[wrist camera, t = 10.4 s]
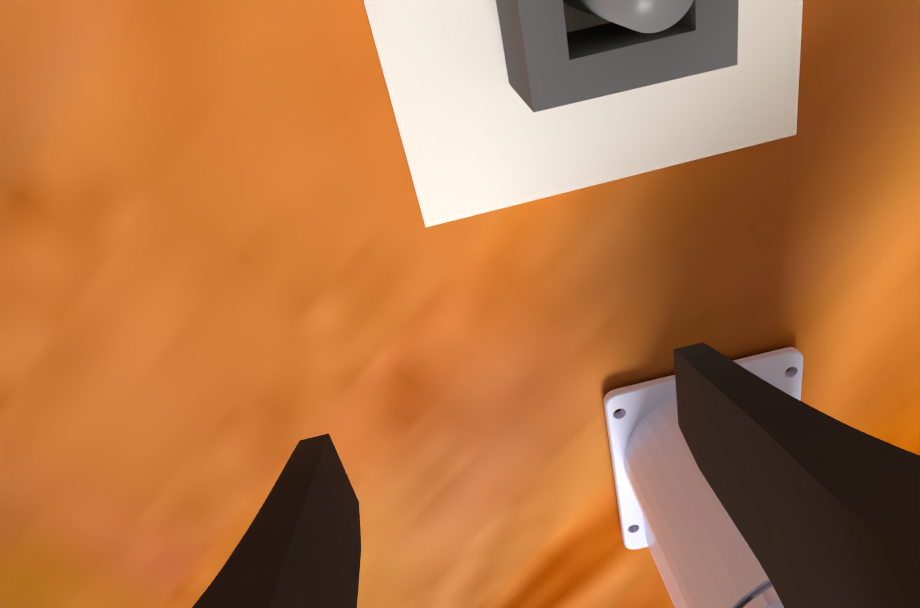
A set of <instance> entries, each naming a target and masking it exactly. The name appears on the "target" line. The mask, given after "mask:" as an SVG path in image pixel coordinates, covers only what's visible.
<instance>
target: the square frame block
mask: <svg viewBox="0 0 920 608" xmlns="http://www.w3.org/2000/svg"><path fill="white" fill-rule="evenodd" d="M738 2H739V0H694V1H693V3H692V5H691V6H690V8H689V10H688V11H687V12H686V14H685V15H684V16H683V17H682V18H681V19H680V20H679V21H678V22H677V23H675V24H674V25H672V26H671V27H669V28H667V29H665V30H663V31H660V32H655V33H641V32H638V31H635V30H632V29H629V28H627V27H624V26H621V25H619V24H616V23H613V22H610V23H606V24H601V25H597V26H593V27H589V28H584V29H580V30H576V31H572V32H567V33H566V24H565V15H564V6H563V0H496V5H497V11H498V17H499V24H500V30H501V36H502V42H503V49H504V55H505V61H506V68H507V74H508V80H509V84H510V85H511V87H512V88H513V89H514V90H515V91H516V93H517V94H518V95H519V96H520V97H521V98H522V100H523V101H524V102H525V103H526V104H527V105H528V107H529V108H530V109H531V110H532V111H533V112H538V111H542V110H546V109H551V108H555V107H559V106H564V105H568V104H572V103H576V102H581V101H585V100H589V99H593V98H598V97H602V96H606V95H611V94H615V93H619V92H623V91H628V90H632V89H636V88H641V87H645V86H649V85H653V84H658V83H662V82H666V81H670V80H675V79H679V78H683V77H688V76H692V75H696V74H700V73H705V72H709V71H713V70H717V69H722V68H726V67H730V66H735V65H737V57H738Z"/></svg>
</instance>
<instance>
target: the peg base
mask: <svg viewBox="0 0 920 608" xmlns="http://www.w3.org/2000/svg"><path fill="white" fill-rule="evenodd" d="M693 1H694V0H563V6H564V15H565V24H566V33H567V32H572V31H576V30H580V29H584V28H589V27H593V26H597V25H601V24H606V23H610V22H613V23H616V24H619V25H621V26H624V27H627V28H629V29H632V30H635V31H638V32H641V33H655V32H660V31H663V30H665V29H667V28H669V27H671V26H672V25H674V24H675V23H677V22H678V21H679V20H680V19H681V18H682V17H683V16H684V15H685V14H686V12H687V11H688V10H689V8H690V6H691V5H692V3H693ZM364 4H365V8H366V11H367V15H368V18H369V22H370V26H371V29H372V33H373V37H374V40H375V44H376V48H377V51H378V55H379V59H380V62H381V66H382V70H383V73H384V77H385V81H386V84H387V88H388V91H389V95H390V99H391V102H392V106H393V110H394V113H395V117H396V121H397V124H398V128H399V132H400V135H401V139H402V143H403V146H404V150H405V154H406V157H407V161H408V164H409V168H410V172H411V175H412V179H413V183H414V186H415V190H416V194H417V197H418V201H419V205H420V208H421V212H422V216H423V219H424V223H425V227H429V226H433V225H437V224H441V223H445V222H449V221H453V220H457V219H461V218H465V217H469V216H473V215H477V214H481V213H485V212H489V211H493V210H497V209H501V208H505V207H509V206H513V205H517V204H521V203H525V202H529V201H533V200H537V199H541V198H545V197H549V196H553V195H557V194H561V193H565V192H569V191H573V190H577V189H581V188H585V187H589V186H593V185H597V184H601V183H605V182H609V181H613V180H617V179H621V178H625V177H629V176H633V175H637V174H641V173H645V172H649V171H653V170H657V169H661V168H665V167H669V166H673V165H677V164H681V163H685V162H689V161H693V160H697V159H701V158H705V157H709V156H713V155H717V154H721V153H725V152H729V151H733V150H737V149H741V148H745V147H749V146H753V145H757V144H761V143H765V142H769V141H773V140H777V139H781V138H785V137H789V136H793V135H796V132H797V111H798V91H799V71H800V50H801V30H802V9H803V0H739V2H738V57H737V65H735V66H730V67H726V68H722V69H717V70H713V71H709V72H705V73H700V74H696V75H692V76H688V77H683V78H679V79H675V80H670V81H666V82H662V83H658V84H653V85H649V86H645V87H641V88H636V89H632V90H628V91H623V92H619V93H615V94H611V95H606V96H602V97H598V98H593V99H589V100H585V101H581V102H576V103H572V104H568V105H564V106H559V107H555V108H551V109H546V110H542V111H538V112H533V111H532V110H531V109H530V108H529V107H528V105H527V104H526V103H525V102H524V101H523V100H522V98H521V97H520V96H519V95H518V94H517V93H516V91H515V90H514V89H513V88H512V87H511V85H510V84H509V80H508V74H507V68H506V61H505V55H504V49H503V42H502V36H501V30H500V24H499V17H498V11H497V5H496V0H364Z"/></svg>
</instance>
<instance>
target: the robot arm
mask: <svg viewBox="0 0 920 608" xmlns="http://www.w3.org/2000/svg"><path fill="white" fill-rule="evenodd" d="M803 359H804V358H803V355H802V354H801V353H800V352H799V351H798V350H797V349H796V348H794V347H787V348H783V349H779V350H774V351H770V352H766V353H762V354H758V355H754V356H750V357H746V358H741V359H737V360H733V361H732V360H731V359H729V358H728V357H726V356H724V355H723V354H721V353H720V352H718V351H716V350H715V349H713V348H712V347H710V346H708V345H707V344H705V343H699V344H695V345H690V346H686V347H682V348H678V349H674V365H675V375H671V376H667V377H663V378H659V379H655V380H651V381H647V382H642V383H638V384H634V385H630V386H626V387H622V388H618V389H614V390H611V391H609V392H608V393H607V394H606V395H605V397H604V409H605V416H606V424H607V431H608V438H609V445H610V453H611V460H612V467H613V474H614V481H615V489H616V496H617V503H618V510H619V518H620V525H621V532H622V539H623V542H624V544H625V546H626V547H627V548H628V549H632V550H633V549H639V548H643V547H647V546H648V547H649V549H650V552H651V554H652V556H653V559H654V561H655V563H656V566H657V568H658V570H659V573H660V575H661V577H662V580H663V582H664V584H665V586H666V589H667V591H668V593H669V596H670V598H671V600H672V603H673V605H674V607H675V608H920V456H919V455H916V454H914V453H911V452H909V451H906V450H904V449H901V448H899V447H896V446H894V445H892V444H889V443H887V442H885V441H882V440H880V439H878V438H875V437H873V436H871V435H868V434H866V433H864V432H861V431H859V430H857V429H855V428H853V427H850V426H848V425H846V424H844V423H842V422H840V421H838V420H836V419H834V418H832V417H830V416H828V415H826V414H824V413H822V412H820V411H818V410H816V409H814V408H813V407H811V406H809V405H807V404H805V403H803V402H801V389H802V374H803ZM790 367H791V369H790V370H788V371H786V370H787V369H788V368H790ZM785 371H786V372H785ZM617 409H622V410H621V411H619V412H615V410H617ZM614 412H615V413H614ZM360 556H361V536H360V515H359V501H358V499H357V497H356V495H355V492H354V490H353V488H352V486H351V483H350V481H349V479H348V476H347V474H346V472H345V470H344V467H343V465H342V463H341V461H340V458H339V456H338V454H337V451H336V449H335V447H334V445H333V442H332V440H331V438H330V435H329V434H325V435H321V436H317V437H313V438H308V439H304V440H300V441H299V443H298V445H297V446H296V448H295V450H294V451H293V453H292V455H291V456H290V458H289V460H288V462H287V464H286V465H285V467H284V469H283V471H282V472H281V474H280V476H279V478H278V480H277V481H276V483H275V485H274V487H273V488H272V490H271V492H270V494H269V495H268V497H267V499H266V500H265V502H264V504H263V505H262V507H261V509H260V510H259V512H258V514H257V515H256V517H255V519H254V520H253V522H252V524H251V525H250V527H249V528H248V530H247V532H246V533H245V535H244V536H243V538H242V539H241V541H240V542H239V544H238V545H237V547H236V548H235V550H234V551H233V553H232V554H231V556H230V557H229V559H228V560H227V562H226V563H225V565H224V566H223V568H222V569H221V571H220V572H219V573H218V575H217V576H216V577H215V579H214V580H213V582H212V583H211V584H210V586H209V587H208V588H207V590H206V591H205V592H204V593H203V595H202V596H201V597H200V598H199V600H198V601H197V602H196V603H195V605H194V606H193V607H192V608H357V597H358V584H359V570H360Z"/></svg>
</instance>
